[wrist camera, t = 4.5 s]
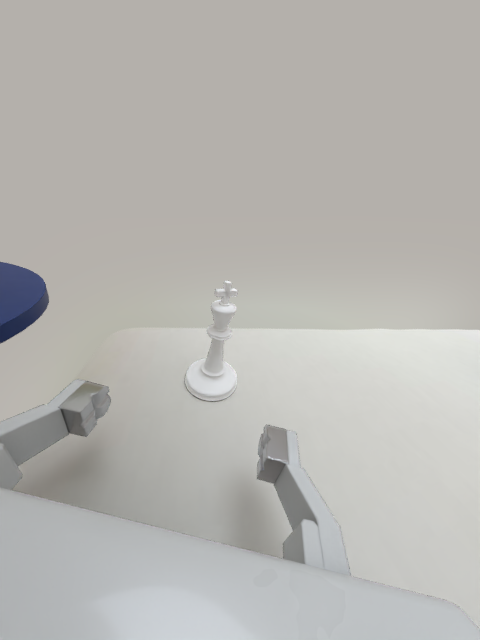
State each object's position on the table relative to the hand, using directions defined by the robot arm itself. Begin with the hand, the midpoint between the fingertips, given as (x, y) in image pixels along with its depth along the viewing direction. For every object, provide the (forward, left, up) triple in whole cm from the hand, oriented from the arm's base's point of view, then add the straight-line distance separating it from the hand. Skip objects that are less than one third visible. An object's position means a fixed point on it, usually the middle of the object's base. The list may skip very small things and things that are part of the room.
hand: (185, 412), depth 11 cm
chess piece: (+3, +7, -6) cm, 10 cm away
